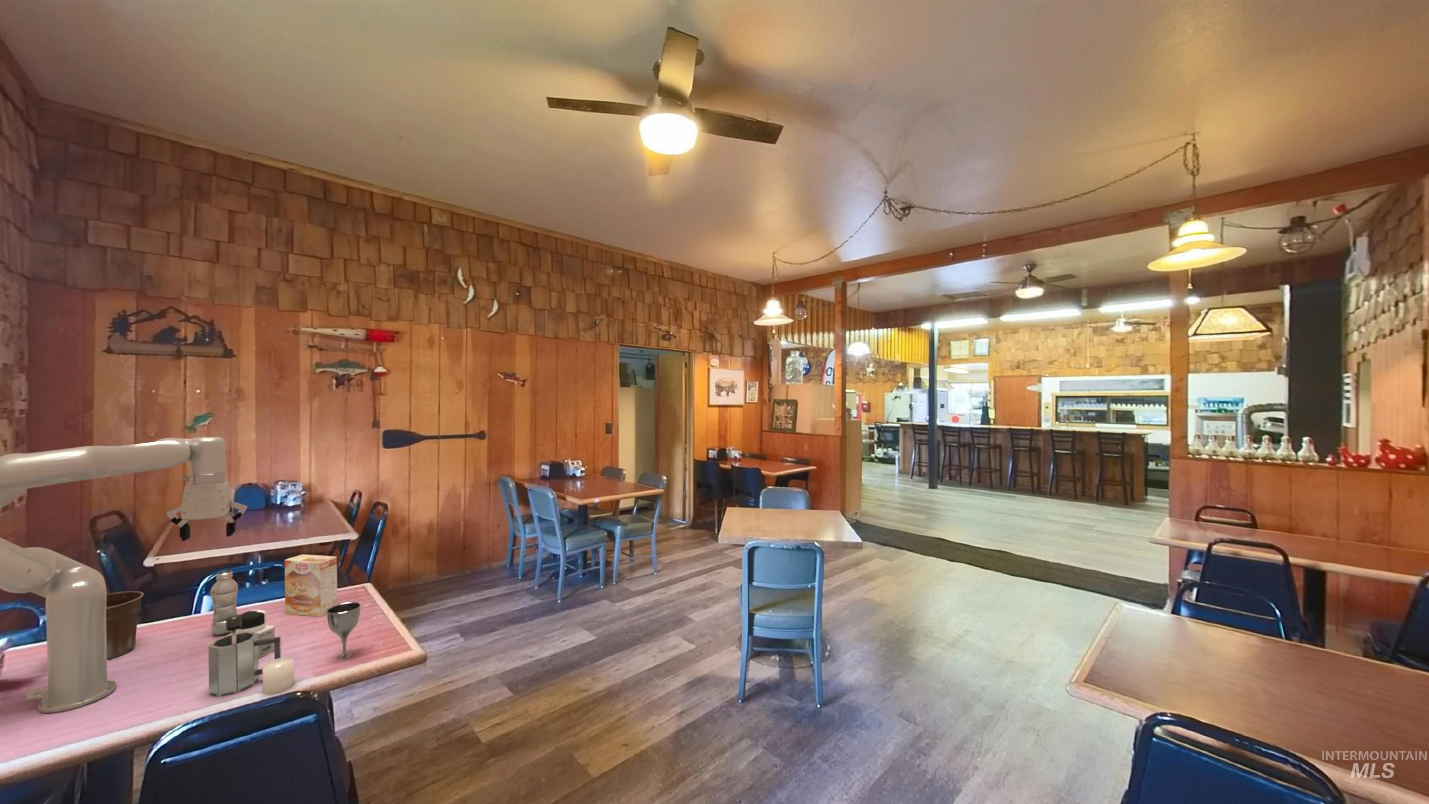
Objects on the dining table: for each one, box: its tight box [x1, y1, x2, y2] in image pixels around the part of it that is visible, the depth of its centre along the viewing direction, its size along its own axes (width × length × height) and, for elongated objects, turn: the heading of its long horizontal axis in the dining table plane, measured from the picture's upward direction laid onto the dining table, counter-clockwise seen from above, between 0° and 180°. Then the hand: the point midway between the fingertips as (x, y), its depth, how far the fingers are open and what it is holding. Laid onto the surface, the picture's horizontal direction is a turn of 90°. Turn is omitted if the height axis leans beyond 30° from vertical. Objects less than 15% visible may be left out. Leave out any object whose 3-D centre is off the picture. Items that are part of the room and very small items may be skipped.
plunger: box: [226, 614, 242, 645], centre depth 136 cm, size 6×6×16 cm
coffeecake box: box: [284, 554, 338, 618], centre depth 184 cm, size 15×7×20 cm, turn 81°
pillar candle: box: [262, 656, 295, 695], centre depth 135 cm, size 6×6×7 cm
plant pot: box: [106, 590, 144, 661], centre depth 153 cm, size 16×16×16 cm
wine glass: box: [326, 601, 361, 660], centre depth 151 cm, size 8×8×15 cm
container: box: [228, 609, 276, 659], centre depth 153 cm, size 8×8×13 cm
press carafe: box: [207, 631, 282, 698], centre depth 137 cm, size 14×9×13 cm, turn 117°
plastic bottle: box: [209, 570, 239, 636], centre depth 167 cm, size 6×7×20 cm
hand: (208, 537), depth 149 cm, fingers open, 9 cm apart
